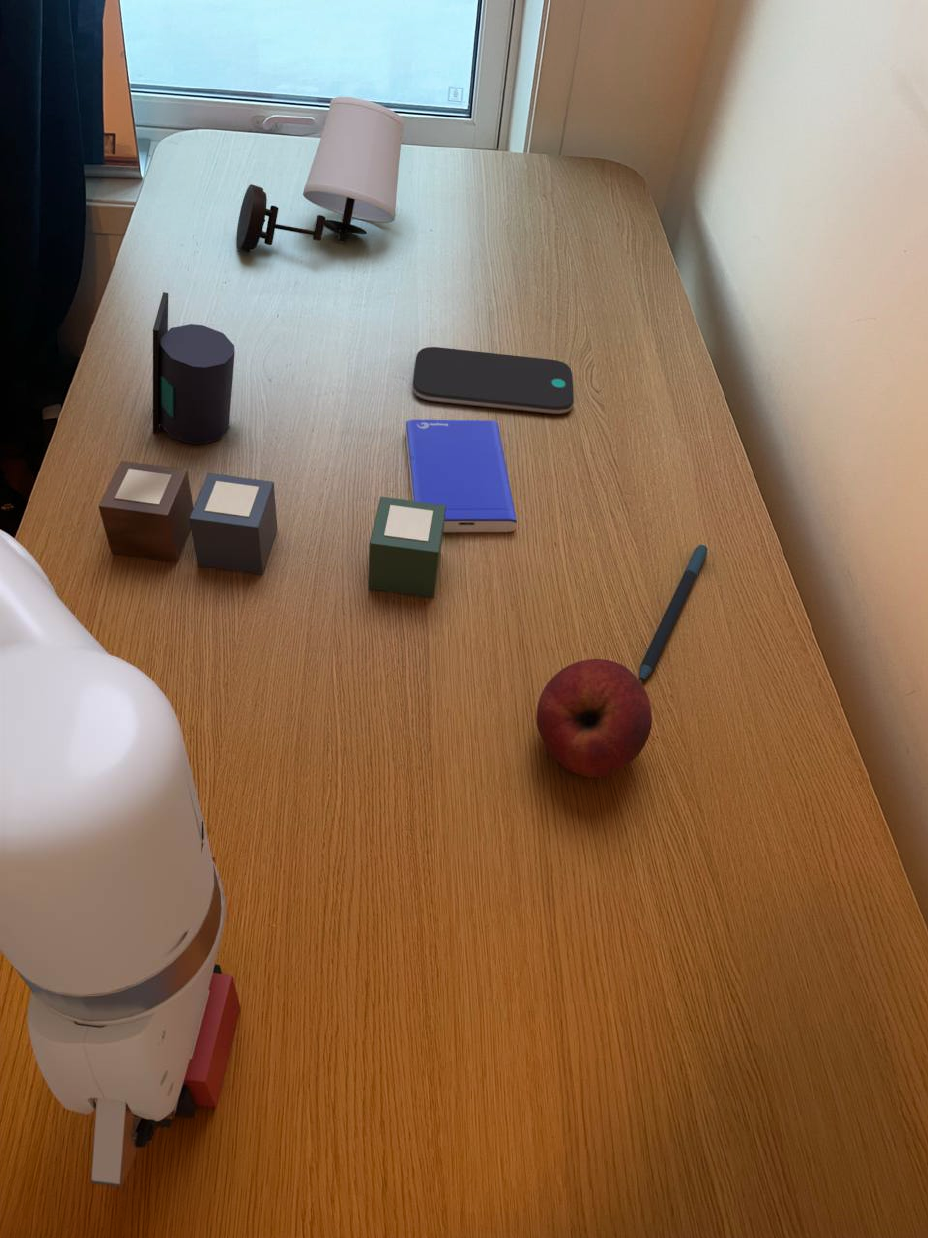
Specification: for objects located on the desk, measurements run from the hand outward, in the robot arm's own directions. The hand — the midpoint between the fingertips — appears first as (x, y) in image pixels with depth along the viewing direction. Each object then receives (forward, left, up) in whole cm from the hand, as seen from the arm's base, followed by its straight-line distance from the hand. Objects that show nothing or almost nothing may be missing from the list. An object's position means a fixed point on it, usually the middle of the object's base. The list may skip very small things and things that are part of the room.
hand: (180, 1047), depth 49 cm
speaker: (-13, +50, -1) cm, 52 cm away
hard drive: (+10, +47, -1) cm, 48 cm away
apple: (+21, +22, -1) cm, 30 cm away
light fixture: (-9, +85, -1) cm, 85 cm away
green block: (+7, +36, 0) cm, 37 cm away
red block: (0, 0, 0) cm, 0 cm away
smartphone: (+12, +61, -1) cm, 62 cm away
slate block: (-6, +36, 0) cm, 36 cm away
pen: (+28, +35, -1) cm, 45 cm away
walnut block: (-13, +36, 0) cm, 38 cm away
